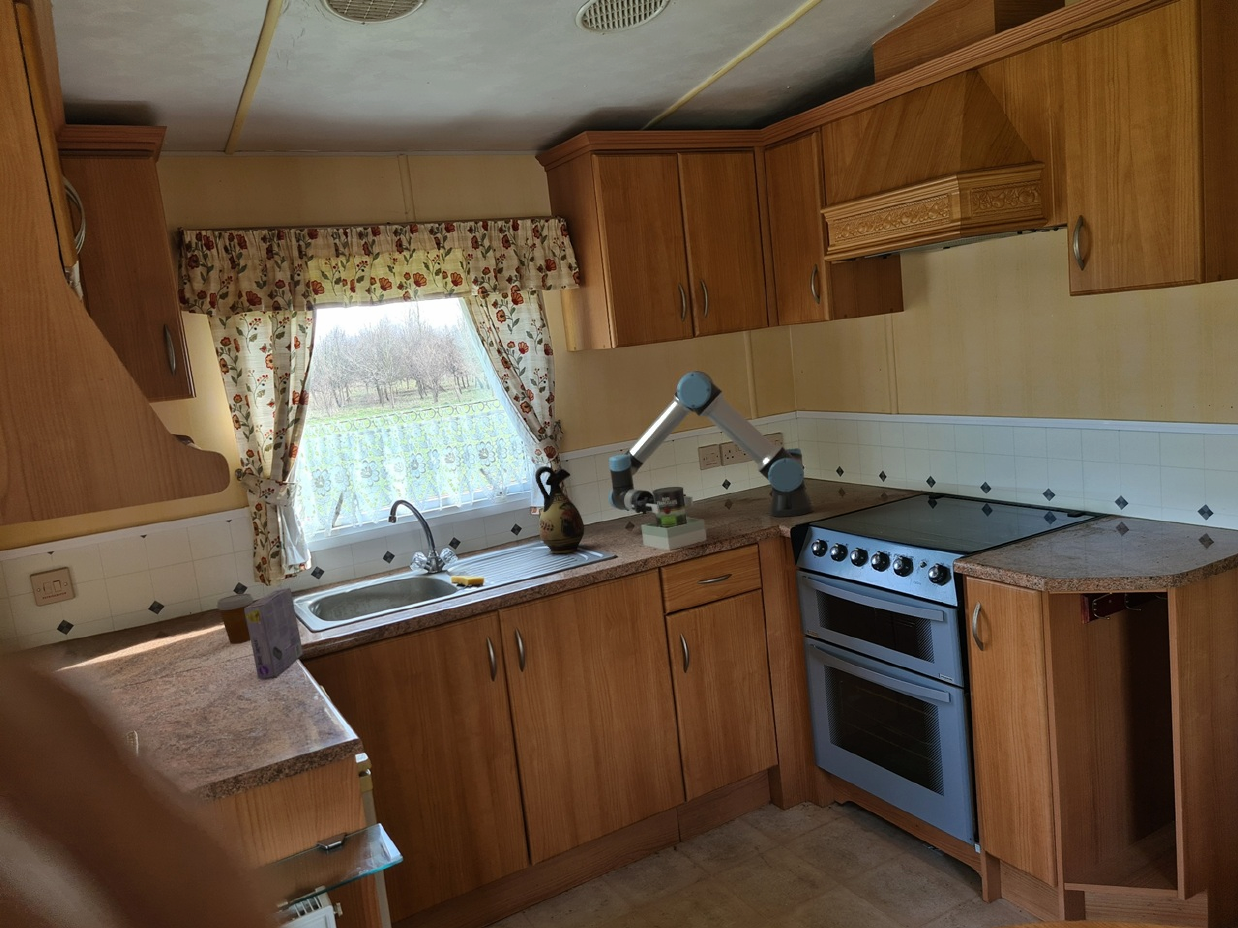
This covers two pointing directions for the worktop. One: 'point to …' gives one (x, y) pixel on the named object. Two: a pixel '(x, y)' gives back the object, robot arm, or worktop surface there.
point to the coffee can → (670, 507)
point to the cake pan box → (273, 633)
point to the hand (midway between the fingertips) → (675, 505)
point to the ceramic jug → (558, 514)
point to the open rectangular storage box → (674, 534)
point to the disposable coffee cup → (235, 616)
